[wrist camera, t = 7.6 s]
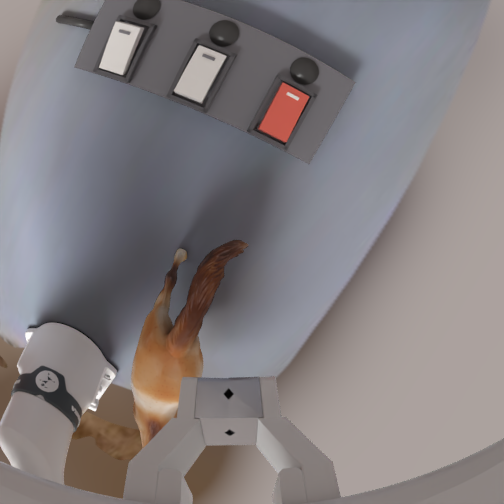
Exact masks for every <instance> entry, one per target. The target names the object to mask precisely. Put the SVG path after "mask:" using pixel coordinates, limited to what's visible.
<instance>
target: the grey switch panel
mask: <svg viewBox="0 0 504 504" xmlns="http://www.w3.org/2000/svg"><path fill="white" fill-rule="evenodd" d="M116 21H121V22H124V23H128V24H132V25H135V26H139V27H143V28H144V30H143V33H142V35H141V38H140V40H139V42H138V45H137V47H136V50H135V52H134V55H133V58H132V60H131V63H130V66H129V68H128V71H127V74H124V75H120V74H117V73H114V72H111V71H108V70H105V69H102V68H99V66H100V63H101V60H102V57H103V54H104V51H105V48H106V45H107V43H108V40H109V37H110V35H111V32H112V29H113V27H114V24H115V22H116ZM56 22H58V23H62V24H68V25H73V26H77V27H82V28H86V29H90V32H89V34H88V36H87V38H86V40H85V43H84V45H83V47H82V49H81V52H80V54H79V57H78V59H77V62H76V64H75V68H79V69H82V70H86V71H89V72H92V73H95V74H99V75H102V76H105V77H108V78H111V79H114V80H117V81H120V82H123V83H126V84H129V85H132V86H135V87H138V88H140V89H143V90H146V91H149V92H151V93H154V94H157V95H159V96H162V97H164V98H167V99H170V100H172V101H175V102H177V103H180V104H182V105H185V106H187V107H190V108H192V109H194V110H197V111H199V112H202V113H204V114H206V115H209V116H211V117H213V118H215V119H218V120H220V121H222V122H224V123H227V124H229V125H231V126H233V127H235V128H238V129H240V130H242V131H244V132H246V133H248V134H250V135H253V136H255V137H257V138H259V139H261V140H263V141H265V142H267V143H269V144H271V145H273V146H275V147H277V148H279V149H281V150H283V151H285V152H287V153H289V154H291V155H293V156H295V157H296V158H298V159H300V160H302V161H304V162H306V163H308V164H310V162H311V160H312V158H313V157H314V155H315V153H316V151H317V150H318V148H319V146H320V144H321V143H322V141H323V139H324V137H325V136H326V134H327V132H328V130H329V129H330V127H331V125H332V123H333V122H334V120H335V118H336V116H337V114H338V113H339V111H340V109H341V107H342V106H343V104H344V102H345V100H346V99H347V97H348V95H349V93H350V92H351V90H352V88H353V86H354V84H355V83H356V82H354V81H353V80H351V79H349V78H348V77H346V76H345V75H343V74H342V73H340V72H338V71H337V70H335V69H333V68H332V67H330V66H328V65H327V64H325V63H323V62H321V61H320V60H318V59H316V58H314V57H313V56H311V55H309V54H307V53H305V52H303V51H302V50H300V49H298V48H296V47H294V46H292V45H290V44H288V43H286V42H284V41H282V40H280V39H278V38H276V37H274V36H272V35H270V34H268V33H265V32H263V31H261V30H259V29H257V28H254V27H252V26H250V25H247V24H245V23H243V22H240V21H238V20H235V19H233V18H230V17H228V16H225V15H223V14H220V13H217V12H215V11H212V10H209V9H206V8H203V7H200V6H197V5H194V4H191V3H188V2H185V1H182V0H105V2H104V4H103V5H102V7H101V9H100V11H99V13H98V15H97V17H96V19H95V21H89V20H84V19H79V18H74V17H69V16H63V15H59V16H58V17H57V18H56ZM199 45H200V46H203V47H205V48H208V49H210V50H213V51H215V52H218V53H220V54H223V55H225V56H227V57H226V60H225V62H224V64H223V65H222V67H221V69H220V71H219V73H218V74H217V76H216V78H215V80H214V82H213V84H212V86H211V87H210V89H209V91H208V93H207V95H206V97H205V99H204V101H203V103H202V104H201V103H199V102H197V101H194V100H192V99H189V98H187V97H184V96H182V95H179V94H177V93H175V92H174V89H175V87H176V85H177V83H178V82H179V80H180V78H181V76H182V74H183V72H184V70H185V69H186V67H187V65H188V63H189V61H190V60H191V58H192V56H193V54H194V53H195V51H196V49H197V48H198V46H199ZM282 83H285V84H287V85H289V86H291V87H293V88H295V89H296V90H298V91H300V92H302V93H304V94H306V95H307V96H309V98H308V100H307V102H306V104H305V106H304V108H303V110H302V112H301V114H300V116H299V118H298V120H297V122H296V124H295V126H294V128H293V130H292V132H291V134H290V136H289V138H288V140H287V142H283V141H281V140H279V139H277V138H275V137H273V136H271V135H269V134H267V133H265V132H263V131H261V130H259V129H258V127H259V125H260V123H261V121H262V119H263V117H264V115H265V113H266V112H267V110H268V108H269V106H270V104H271V102H272V100H273V98H274V96H275V94H276V92H277V90H278V88H279V86H280V85H281V84H282Z"/></svg>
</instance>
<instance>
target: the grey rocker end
mask: <svg viewBox="0 0 504 504" xmlns="http://www.w3.org/2000/svg"><path fill="white" fill-rule="evenodd" d="M143 30H144V28H143V27H139V26H135V25H132V24H128V23H124V22H121V21H116V22H115V24H114V27H113V29H112V32H111V35H110V37H109V40H108V43H107V45H106V48H105V51H104V54H103V57H102V60H101V63H100V66H99V68H102V69H105V70H108V71H111V72H114V73H117V74H120V75H124V74H127V71H128V68H129V66H130V63H131V60H132V58H133V55H134V52H135V50H136V47H137V45H138V42H139V40H140V38H141V35H142V33H143Z"/></svg>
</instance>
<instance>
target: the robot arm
mask: <svg viewBox="0 0 504 504" xmlns="http://www.w3.org/2000/svg"><path fill="white" fill-rule="evenodd" d="M25 336H26V339H27V345H26V347H25V349H24V351H23V353H22V355H21V357H20V359H19V361H18V364H17V367H18V369H19V373H20V376H19V377H18V379H17V381H16V382H15V384H14V386H13V390H12V393H11V395H12V398H11V400H10V402H9V404H8V406H7V409H6V411H5V413H4V415H3V417H2V420H1V422H0V446H1V448H2V450H3V452H4V453H5V455H6V456H7V458H8V459H9V461H10V463H11V465H12V466H10V465H8V464H6V463H3V462H1V461H0V504H193V496H192V494H191V492H190V490H189V488H188V486H187V483H186V481H185V479H184V475H185V474H186V473H187V471H188V470H189V469H190V467H191V466H192V465H193V463H194V462H195V461H196V459H197V458H198V456H199V455H200V454H201V452H202V451H203V449H204V448H205V445H256V446H257V448H258V449H259V450H260V451H261V452H262V454H263V455H264V456H265V458H266V459H267V460H268V462H269V463H270V464H271V465H272V467H273V468H274V469H275V470H276V471H277V473H278V478H277V481H276V485H275V488H274V491H273V494H272V498H273V504H504V438H503V439H502V440H500V441H498V442H496V443H494V444H492V445H490V446H489V447H487V448H485V449H483V450H481V451H479V452H476V453H475V454H472V455H470V456H468V457H466V458H464V459H462V460H459V461H457V462H455V463H452V464H450V465H447V466H445V467H443V468H440V469H438V470H435V471H432V472H430V473H427V474H424V475H421V476H418V477H416V478H413V479H410V480H407V481H404V482H401V483H397V484H394V485H390V486H387V487H383V488H379V489H376V490H372V491H368V492H364V493H360V494H355V495H351V496H346V497H341V496H340V492H339V487H338V483H337V478H336V474H335V470H334V466H333V462H332V461H331V460H330V459H329V458H328V457H327V456H326V455H325V454H324V453H322V451H320V450H319V449H318V448H317V447H316V446H315V445H314V444H313V443H312V442H311V441H310V440H309V439H308V438H307V437H306V436H305V435H304V434H303V433H302V432H301V431H300V430H299V429H298V428H297V427H296V426H295V425H293V423H291V421H290V420H288V418H287V417H281V411H280V404H279V397H278V391H277V384H276V378H275V377H274V376H271V377H237V378H201V377H183V378H182V380H181V387H180V395H179V403H178V412H177V418H172V419H171V420H170V421H169V422H168V423H167V424H166V425H165V426H164V427H163V428H162V429H161V430H160V431H159V432H158V433H157V434H156V436H155V437H154V438H153V439H152V440H151V441H150V442H149V443H148V444H147V445H146V446H145V447H144V448H143V449H142V450H141V451H140V452H139V453H138V454H137V455H136V456H135V457H134V458H133V459H132V460H131V461H130V462H129V465H128V471H127V477H126V483H125V490H124V496H123V499H119V498H114V497H109V496H105V495H100V494H96V493H92V492H88V491H84V490H80V489H76V488H73V487H69V486H66V485H64V465H65V460H66V455H67V451H68V447H69V444H70V440H71V437H72V433H73V432H75V431H76V429H77V427H78V426H79V423H80V419H81V416H82V414H84V413H85V411H86V410H87V409H88V408H89V409H91V410H93V411H96V409H97V406H98V403H99V401H98V400H99V399H100V397H101V396H102V394H103V393H104V392H105V390H106V389H107V387H108V386H109V385H110V383H111V382H112V381H113V379H114V378H115V376H116V374H117V370H116V369H115V368H114V367H113V366H112V365H111V364H110V363H109V362H108V361H107V360H106V359H105V358H104V356H103V354H102V352H101V351H100V350H99V348H98V347H97V346H96V345H95V344H94V343H93V342H92V341H91V340H90V339H89V338H88V337H86V336H85V335H84V334H82V333H81V332H79V331H77V330H76V329H74V328H71V327H69V326H67V325H64V324H60V323H45V324H43V325H41V326H40V327H38V328H29V329H27V331H26V333H25Z"/></svg>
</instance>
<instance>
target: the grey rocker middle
mask: <svg viewBox="0 0 504 504" xmlns="http://www.w3.org/2000/svg"><path fill="white" fill-rule="evenodd" d="M226 57H227V56H225V55H223V54H220V53H218V52H215V51H213V50H210V49H208V48H205V47H203V46H200V45H199V46H198V48H197V49H196V51H195V53H194V54H193V56H192V58H191V60H190V61H189V63H188V65H187V67H186V69H185V70H184V72H183V74H182V76H181V78H180V80H179V82H178V83H177V85H176V87H175V89H174V92H175V93H177V94H179V95H182V96H184V97H187V98H189V99H192V100H194V101H197V102H199V103H201V104H202V103H203V101H204V99H205V97H206V95H207V93H208V91H209V89H210V87H211V86H212V84H213V82H214V80H215V78H216V76H217V74H218V73H219V71H220V69H221V67H222V65H223V64H224V62H225V60H226Z"/></svg>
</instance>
